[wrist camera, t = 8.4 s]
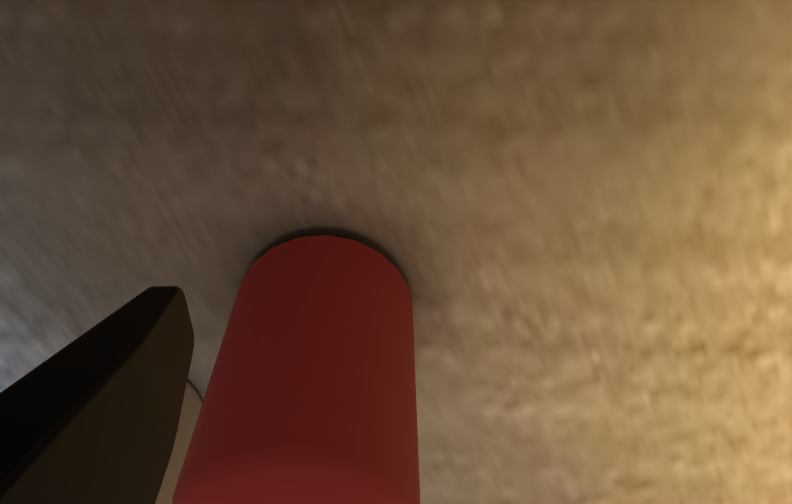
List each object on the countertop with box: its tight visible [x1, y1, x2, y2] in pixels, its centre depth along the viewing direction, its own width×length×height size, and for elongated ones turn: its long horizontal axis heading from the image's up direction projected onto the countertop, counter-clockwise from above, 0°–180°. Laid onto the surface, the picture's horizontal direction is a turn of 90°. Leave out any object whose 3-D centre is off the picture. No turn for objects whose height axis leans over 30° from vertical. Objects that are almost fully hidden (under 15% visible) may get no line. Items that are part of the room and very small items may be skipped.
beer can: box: [172, 235, 420, 504], centre depth 21 cm, size 7×7×12 cm
